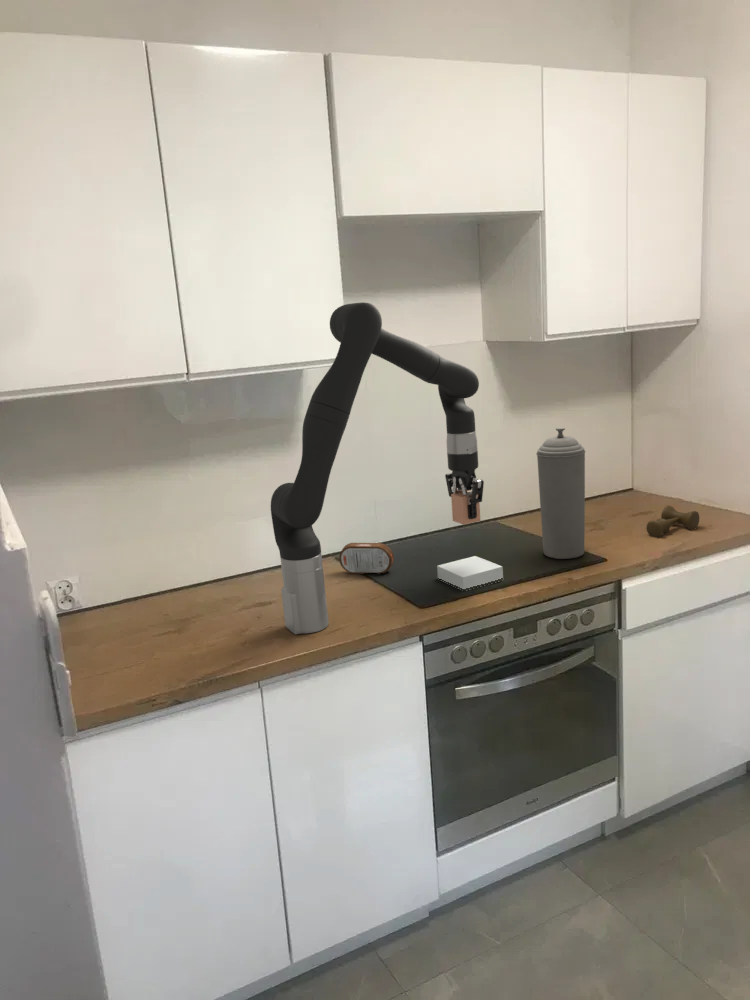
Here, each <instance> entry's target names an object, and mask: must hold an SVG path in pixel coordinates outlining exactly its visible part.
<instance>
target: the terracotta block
mask: <svg viewBox="0 0 750 1000" xmlns="http://www.w3.org/2000/svg"><path fill="white" fill-rule="evenodd" d="M471 491H472V490H469V491H468V492H471ZM471 497H472V495H470V498H471ZM477 498H478V495H477ZM450 499H451V511H452V512H451V513H452V522H455V523H458V524H460V525H468V524H472V523H476V522H477V523H478V522H481V506H480V502H478V503H477V504H476V506H477V517H476V518H474V519H469V518H468V508H467V505H468V503H467V497H466V496H464V495H463V492H460V493H454V494H451V497H450Z"/></svg>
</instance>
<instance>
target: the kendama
mask: <svg viewBox="0 0 750 1000" xmlns="http://www.w3.org/2000/svg"><path fill="white" fill-rule="evenodd" d="M699 523H700V514H699V512H698V511H696V510H694V511H689V512H679V511H677V510H676V509H675V508H674V506H671V505H666V506H664V508H663V509H662V512H661V517H660V518H657V519H656V520H650V521H648V522H647V524H646V528H645V529H646V532H647V534H648V535H649V536H650V537H652V538H660V537H662V535H663V534H667V533H668V532H669V531H670V530H671V527H672V526H673V525H675V524H680V525H683V526H685V527H686V528H687V529H688V530H691V531H693V530H695V529H697V527H698V526H699Z"/></svg>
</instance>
